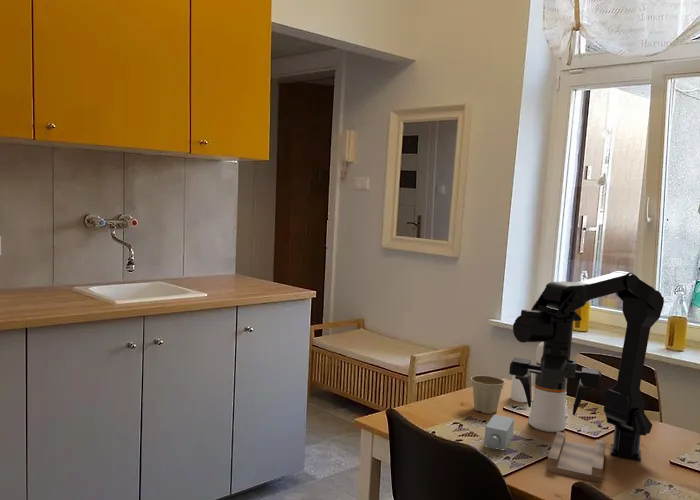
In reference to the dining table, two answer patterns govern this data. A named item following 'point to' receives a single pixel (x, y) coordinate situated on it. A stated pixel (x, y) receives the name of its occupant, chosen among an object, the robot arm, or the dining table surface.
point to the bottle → (499, 432)
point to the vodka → (547, 402)
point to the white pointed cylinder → (518, 390)
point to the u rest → (576, 458)
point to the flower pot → (486, 393)
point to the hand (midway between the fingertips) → (551, 410)
